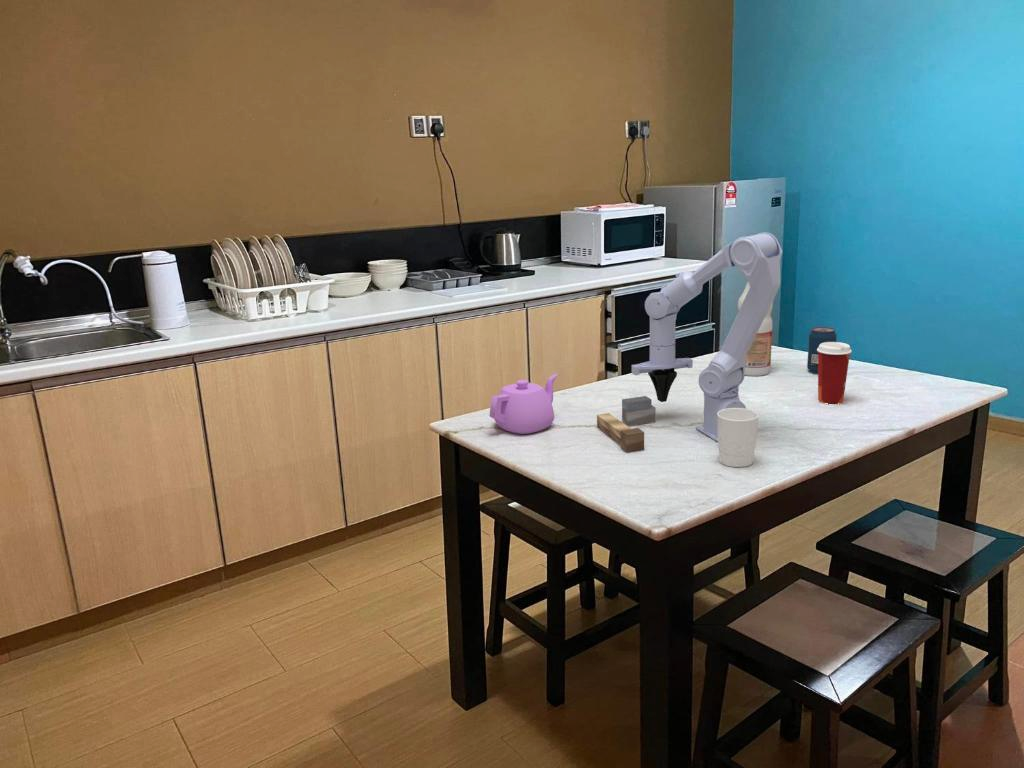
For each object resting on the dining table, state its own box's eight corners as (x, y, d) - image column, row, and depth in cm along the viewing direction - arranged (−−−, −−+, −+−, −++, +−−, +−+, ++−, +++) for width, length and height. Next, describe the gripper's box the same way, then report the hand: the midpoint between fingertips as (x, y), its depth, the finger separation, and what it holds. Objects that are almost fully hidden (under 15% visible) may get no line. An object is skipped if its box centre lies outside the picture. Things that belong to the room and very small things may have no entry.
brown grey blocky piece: (686, 443, 169) (687, 425, 168) (626, 452, 165) (626, 434, 164) (649, 418, 185) (649, 402, 184) (594, 426, 181) (593, 410, 180)
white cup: (749, 452, 162) (751, 406, 159) (762, 467, 154) (764, 419, 152) (711, 455, 162) (712, 408, 159) (722, 469, 154) (723, 421, 151)
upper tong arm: (635, 438, 168) (635, 431, 168) (622, 440, 168) (622, 433, 167) (609, 419, 181) (609, 413, 181) (597, 421, 181) (596, 414, 180)
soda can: (815, 367, 220) (818, 325, 216) (839, 371, 215) (842, 328, 211) (801, 372, 216) (804, 329, 212) (825, 377, 210) (828, 333, 207)
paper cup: (854, 403, 189) (859, 346, 185) (829, 408, 186) (833, 350, 182) (830, 394, 196) (834, 339, 192) (806, 399, 193) (809, 343, 189)
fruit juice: (727, 371, 220) (730, 271, 212) (751, 365, 224) (755, 267, 216) (753, 378, 212) (758, 275, 204) (777, 372, 217) (782, 270, 209)
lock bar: (651, 407, 181) (651, 399, 180) (627, 411, 179) (627, 402, 179) (645, 404, 184) (645, 395, 183) (622, 407, 182) (621, 399, 182)
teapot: (577, 422, 185) (576, 376, 182) (510, 443, 174) (508, 395, 171) (540, 409, 196) (538, 366, 192) (475, 429, 184) (472, 383, 181)
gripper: (682, 336, 185) (681, 391, 189) (625, 343, 181) (626, 399, 185) (697, 343, 178) (696, 400, 182) (639, 350, 175) (639, 408, 178)
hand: (662, 400), depth 183 cm, fingers closed
